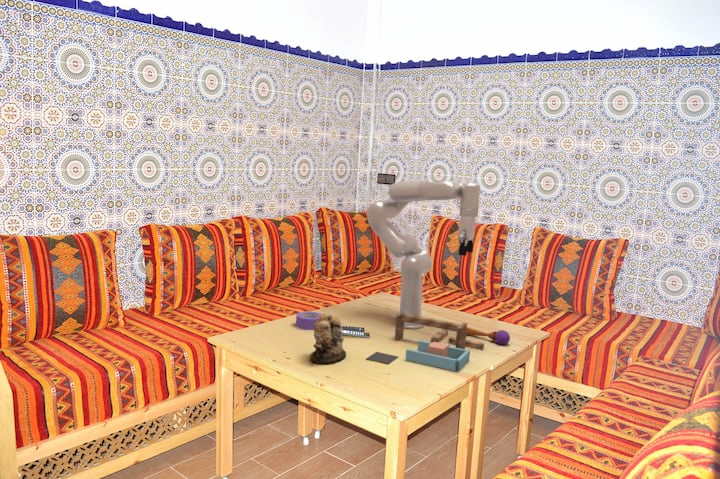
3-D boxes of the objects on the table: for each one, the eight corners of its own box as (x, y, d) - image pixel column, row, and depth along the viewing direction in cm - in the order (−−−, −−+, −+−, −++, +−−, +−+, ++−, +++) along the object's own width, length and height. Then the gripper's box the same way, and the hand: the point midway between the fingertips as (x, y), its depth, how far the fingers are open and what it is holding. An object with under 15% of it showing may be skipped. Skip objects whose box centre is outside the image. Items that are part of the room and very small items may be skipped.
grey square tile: (365, 359, 212) (366, 358, 212) (376, 352, 220) (376, 351, 220) (388, 364, 208) (388, 363, 208) (398, 357, 216) (398, 356, 216)
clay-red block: (426, 361, 213) (428, 345, 212) (432, 356, 219) (433, 341, 218) (442, 364, 211) (443, 349, 210) (447, 360, 216) (448, 344, 215)
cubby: (405, 360, 213) (406, 349, 213) (418, 350, 225) (419, 340, 224) (458, 372, 204) (459, 361, 204) (469, 360, 216) (470, 350, 215)
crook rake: (393, 340, 234) (394, 315, 233) (401, 335, 242) (402, 311, 240) (458, 354, 222) (460, 328, 221) (464, 349, 229) (467, 323, 228)
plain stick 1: (436, 344, 234) (437, 338, 233) (430, 343, 235) (431, 337, 234) (447, 335, 246) (448, 330, 246) (442, 334, 247) (442, 329, 247)
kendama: (470, 324, 251) (512, 331, 238) (468, 337, 251) (511, 345, 238) (463, 324, 246) (506, 331, 233) (461, 338, 246) (505, 346, 233)
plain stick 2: (448, 344, 235) (448, 338, 235) (450, 342, 237) (450, 336, 237) (482, 350, 229) (482, 344, 229) (483, 349, 231) (484, 343, 231)
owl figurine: (331, 368, 201) (332, 321, 199) (301, 362, 206) (302, 316, 203) (352, 353, 218) (354, 309, 215) (324, 348, 222) (325, 305, 220)
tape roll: (323, 322, 255) (324, 311, 254) (322, 330, 243) (323, 319, 243) (297, 321, 254) (297, 310, 254) (294, 329, 243) (295, 318, 242)
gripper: (465, 210, 247) (462, 250, 250) (454, 213, 232) (450, 255, 234) (482, 212, 244) (479, 252, 247) (472, 215, 229) (469, 257, 231)
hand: (465, 253), depth 241 cm, fingers open, 9 cm apart
